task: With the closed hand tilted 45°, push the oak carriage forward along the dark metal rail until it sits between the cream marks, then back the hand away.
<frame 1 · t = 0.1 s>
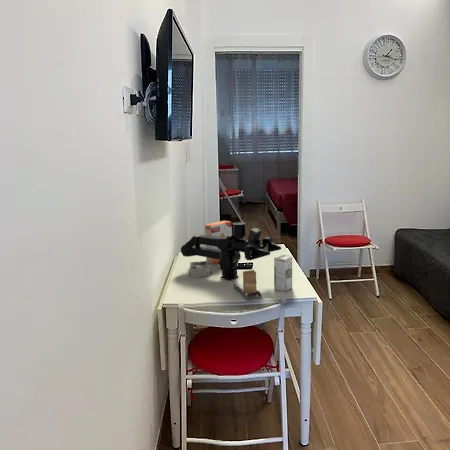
hand: (275, 250, 187), 17 cm above the table, tool horizontal, fingers open, 9 cm apart
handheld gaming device: (199, 273, 216), on the table
syrup box: (283, 289, 189), on the table
carriage: (249, 282, 181), point 6 cm above the table, slide at 0.0 cm
rail: (247, 293, 185), on the table
cracker box: (219, 261, 232), on the table
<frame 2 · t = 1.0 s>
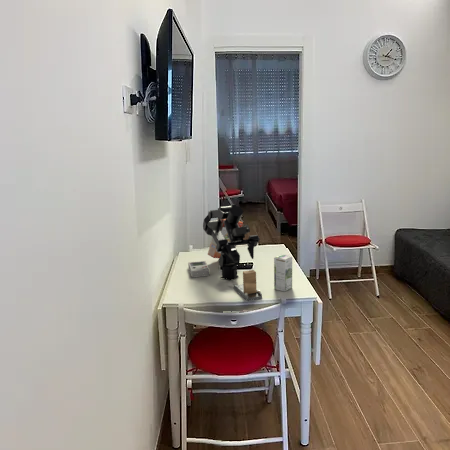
hand: (243, 259, 185), 14 cm above the table, tool tilted 45°, fingers open, 8 cm apart
cracker box: (220, 257, 231), point 2 cm above the table
everything else where it was.
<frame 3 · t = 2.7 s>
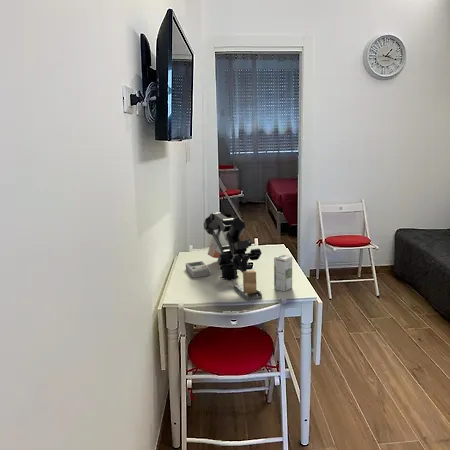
hand: (245, 273, 185), 8 cm above the table, tool tilted 45°, fingers closed
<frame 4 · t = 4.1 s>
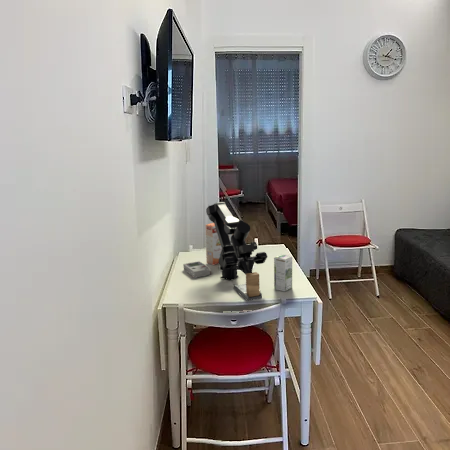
hand: (250, 278, 179), 8 cm above the table, tool tilted 45°, fingers closed, pressing on carriage
carriage: (252, 284, 178), point 6 cm above the table, slide at 3.2 cm, touching gripper
cracker box: (219, 261, 232), on the table
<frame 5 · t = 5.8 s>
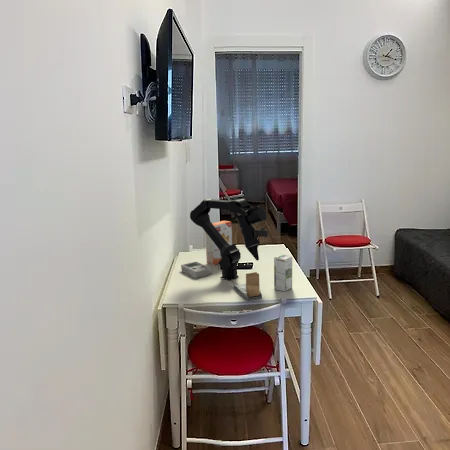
hand: (257, 260, 193), 11 cm above the table, tool tilted 20°, fingers closed
carriage: (252, 284, 178), point 6 cm above the table, slide at 3.2 cm
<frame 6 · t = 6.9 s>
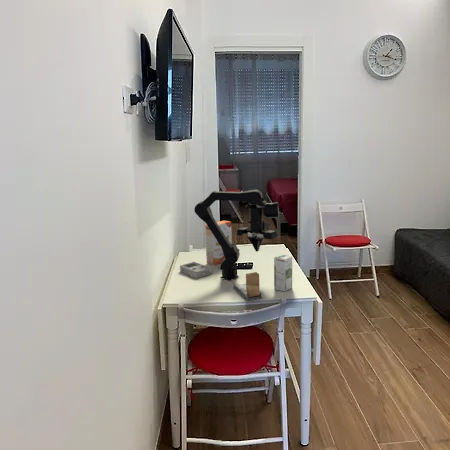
hand: (257, 251, 200), 13 cm above the table, tool pointing down, fingers closed
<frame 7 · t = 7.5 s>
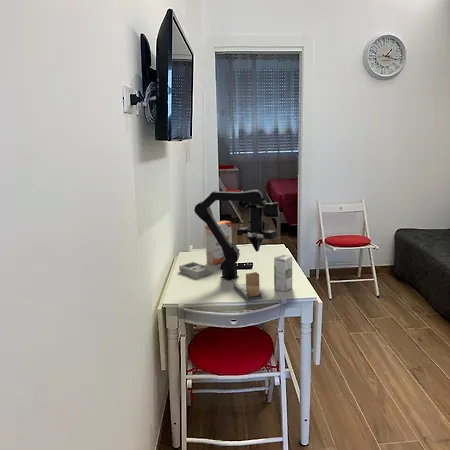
hand: (257, 251, 200), 13 cm above the table, tool pointing down, fingers closed
at the end: carriage slide at 3.2 cm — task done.
